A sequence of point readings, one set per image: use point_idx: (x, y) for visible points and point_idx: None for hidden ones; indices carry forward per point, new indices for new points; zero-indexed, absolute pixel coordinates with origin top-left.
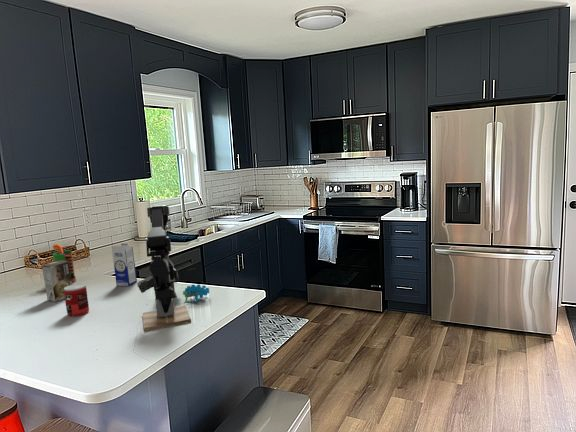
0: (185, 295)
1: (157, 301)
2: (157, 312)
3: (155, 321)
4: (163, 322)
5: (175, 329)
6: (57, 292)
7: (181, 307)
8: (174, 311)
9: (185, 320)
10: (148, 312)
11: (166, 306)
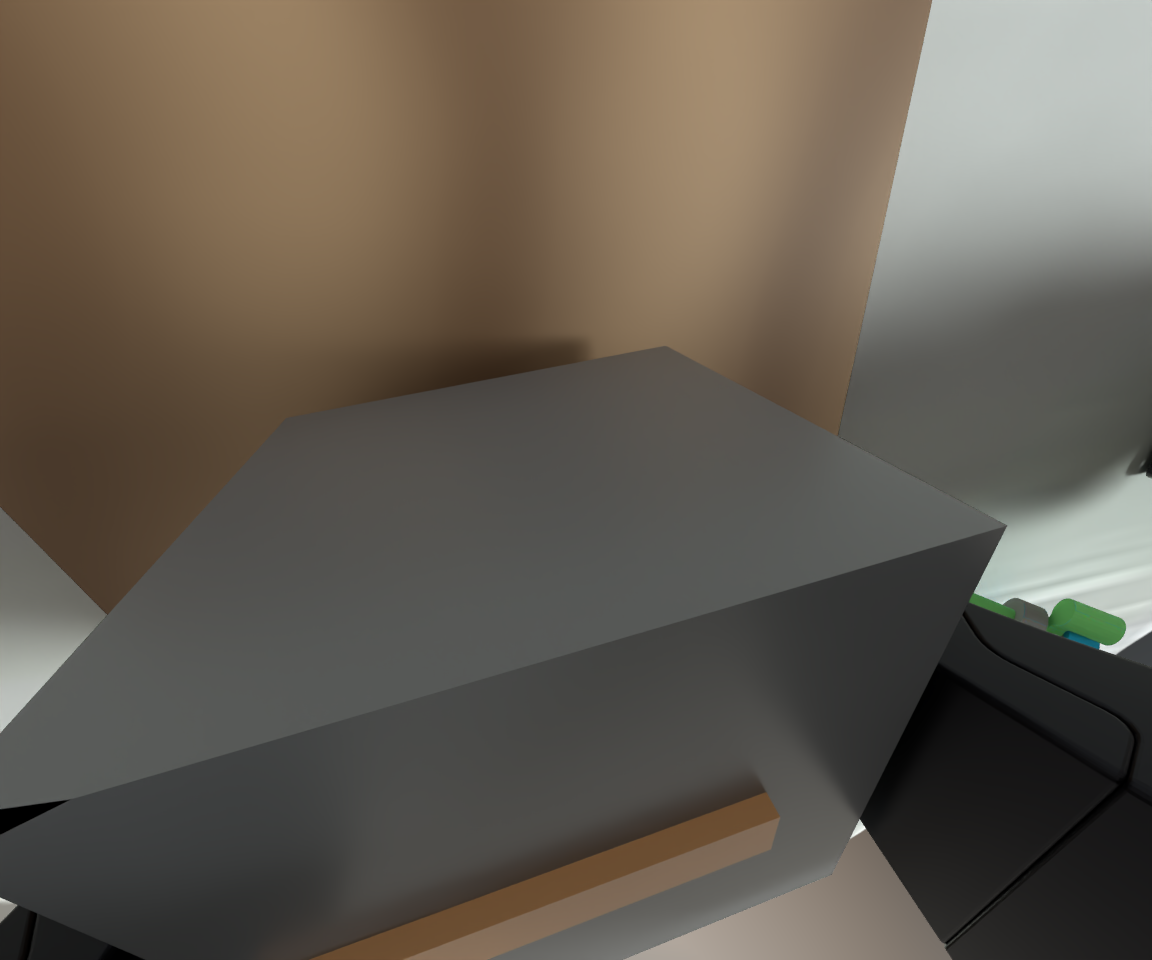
0: (1025, 623)
1: (347, 790)
2: (243, 486)
3: (220, 352)
4: (144, 524)
5: (3, 675)
6: None
7: None
8: None
9: None
10: (864, 118)
11: None
